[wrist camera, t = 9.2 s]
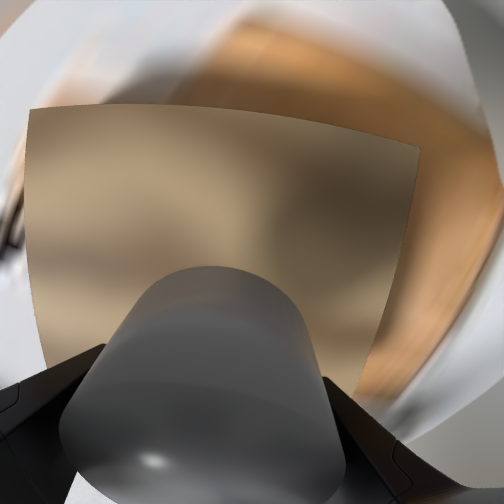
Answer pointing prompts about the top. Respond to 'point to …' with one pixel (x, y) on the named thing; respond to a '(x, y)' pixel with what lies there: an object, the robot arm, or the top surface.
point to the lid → (211, 217)
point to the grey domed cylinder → (206, 400)
